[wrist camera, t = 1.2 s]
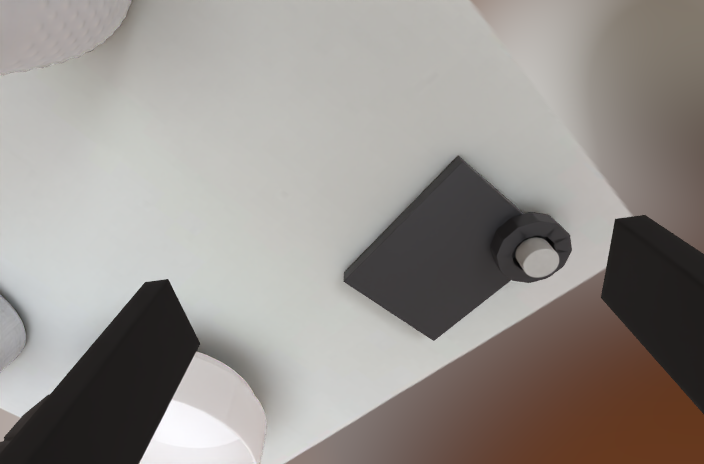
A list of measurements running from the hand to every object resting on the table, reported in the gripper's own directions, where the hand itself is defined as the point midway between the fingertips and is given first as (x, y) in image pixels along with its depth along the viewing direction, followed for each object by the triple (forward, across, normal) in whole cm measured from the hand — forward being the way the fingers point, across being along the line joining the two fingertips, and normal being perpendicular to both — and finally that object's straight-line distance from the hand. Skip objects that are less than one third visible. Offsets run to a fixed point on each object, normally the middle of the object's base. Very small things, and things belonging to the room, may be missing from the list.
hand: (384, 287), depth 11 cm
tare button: (+16, +11, -10) cm, 22 cm away
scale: (+19, +5, -11) cm, 22 cm away
